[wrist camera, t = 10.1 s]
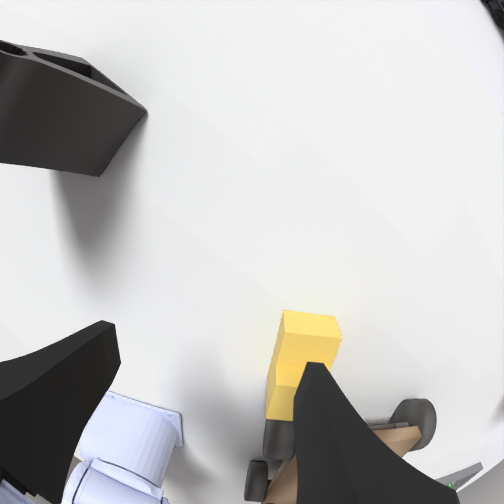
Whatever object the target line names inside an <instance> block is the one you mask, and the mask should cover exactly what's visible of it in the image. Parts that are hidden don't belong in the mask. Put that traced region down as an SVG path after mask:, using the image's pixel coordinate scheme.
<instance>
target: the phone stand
mask: <svg viewBox="0 0 504 504" xmlns="http://www.w3.org/2000/svg"><path fill="white" fill-rule="evenodd" d="M145 112H146V109H145V108H144V107H143V106H142V105H141V104H139V103H138V102H137V101H136V100H135V99H133V98H132V97H131V96H130V95H129V94H127V93H126V92H125V91H124V90H122V89H121V88H120V87H119V86H117V85H116V84H115V83H114V82H112V81H111V80H110V79H109V78H107V77H106V76H105V75H104V74H102V73H101V72H100V71H99V70H97V69H96V68H95V67H93V66H92V65H91V64H90V63H88V62H87V61H86V60H84V59H83V58H80V57H77V56H72V55H68V54H64V53H60V52H55V51H50V50H45V49H40V48H34V47H28V46H22V45H17V44H13V43H9V42H6V41H2V40H0V163H6V164H14V165H23V166H31V167H38V168H46V169H53V170H60V171H66V172H73V173H79V174H86V175H92V176H98V177H100V175H101V174H102V172H103V171H104V169H105V167H106V166H107V164H108V163H109V161H110V160H111V158H112V157H113V155H114V154H115V152H116V151H117V149H118V148H119V146H120V145H121V144H122V142H123V141H124V139H125V138H126V137H127V135H128V134H129V132H130V131H131V130H132V128H133V127H134V126H135V124H136V123H137V122H138V120H139V119H140V118H141V117H142V115H143V114H144V113H145Z"/></svg>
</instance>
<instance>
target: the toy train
mask: <svg viewBox="0 0 504 504" xmlns="http://www.w3.org/2000/svg"><path fill="white" fill-rule="evenodd" d="M482 1H485V2H488V4H489V5H490V7H491V8H492V10H493V11H492V17H493V18H494V20H495V22H496V23H497V25H498V26H500V27H503V28H504V0H482Z"/></svg>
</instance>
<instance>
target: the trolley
mask: <svg viewBox="0 0 504 504" xmlns="http://www.w3.org/2000/svg"><path fill="white" fill-rule="evenodd" d="M436 422H437V419H436V412H435V409H434V406H433V405H432V403H431V402H430V401H429V400H427V399H413V400H406V401H403V402H402V403H401V404H400V405H399V406H398V407H397V409H396V411H395V413H394V415H393V419H392V423H391V424H383V425H370V426H369V428H370V429H371V430H372V431H373V432H374V433H375V434H376V435H377V436H378V437H379V438H380V439H381V440H382V441H383V442H384V443H385V444H386V445H387V446H388V447H389V448H390V449H391V450H393V451H394V452H395V453H396V454H397V455H399V456H400V457H401V458H402V457H403V456H404V455H405V454H406V453H407V452H410V451H415V450H419V449H422V448H424V447H426V446H427V445H428V444H429V442H430V441H431V439H432V438H433V435H434V433H435V429H436ZM263 456H264V458H265V459H279V460H284V461H283V463H282V465H281V466H280V468H279V470H278V471H277V473H276V475H275V476H274V478H273V479H272V480H268V464H267V463H264V462H253V461H251V462H250V464H249V467H248V471H247V477H246V483H245V492H244V499H245V501H255V502H261V504H296V499H297V462H296V451H295V441H294V430H293V421H286V420H274V419H266V424H265V431H264V440H263Z"/></svg>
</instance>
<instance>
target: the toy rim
mask: <svg viewBox="0 0 504 504" xmlns="http://www.w3.org/2000/svg"><path fill="white" fill-rule="evenodd" d="M482 469H483V466H482V464H481V462H480V463H477V464H475V465H473V466H471V467H468V468H466V469H464V470H461V471H459V472H456V473H453V474H451V475H448V476H445V477H442V478H440V479H437V480H435V481H437V482H440V483H442V484H444V485H449V484H451V483H454V482H455V483H454V484H453V488H452V486H450V488H452V489H454V490H457V489H458V488H460V487H461V486H462V485H463V484H465V483H466V482H467V481H469V480H470V479H471V478H472V477H474V476H475V475H476V474H477V473H478V472H480V471H481V470H482ZM456 481H457V482H456Z"/></svg>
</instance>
